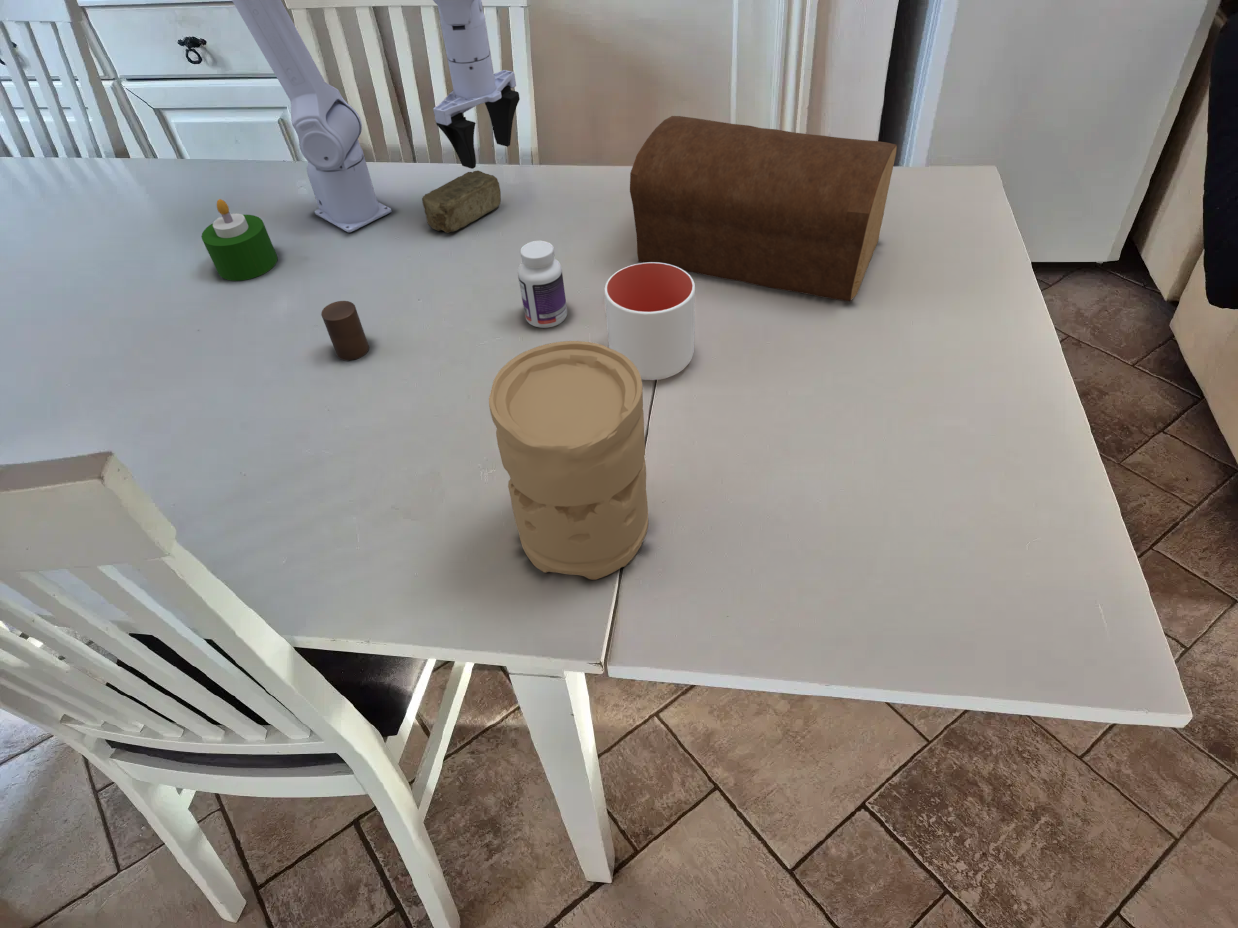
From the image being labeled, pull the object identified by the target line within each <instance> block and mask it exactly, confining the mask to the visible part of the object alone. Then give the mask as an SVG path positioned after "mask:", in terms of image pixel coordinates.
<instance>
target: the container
mask: <svg viewBox="0 0 1238 928" xmlns="http://www.w3.org/2000/svg"><path fill="white" fill-rule="evenodd" d="M642 381H643V380H642V379H641V376H640V374H639V371H638V369H637V368H636V366H635V365H634V364H633V362H632V361H631V360H629V359H628V358H627V357H626V356H625V355H623V354H621V353H619V352H617V351H615V350H613V349H610V348H609V346H606V345H604V344H601V343H598V342H597V343H596V342H591V341H583V340H582V341H581V340H565V341H556V342H551V343H550V342H549V343H545V344H542V345H538V346H535V347H532V348H530V349H528V350H525V351H523V352H522V353H519V354H517V355H516V356H514V357H513V358H511V359H510V360H509V361H508V362H507V363H506V364H504V365H503V366H502V367H501V368H500V370H498V372H497V374H496V375H495V377H494V378H493V381H492V385H491V389H490V393H489V396H488V408H489V412H490V416H491V419H492V422H493V424H494V426H495V428H496V429H495V430H496V431H495V436H496V441H497V447H498V451H499V457H500V461H501V464H502V467H503V469H504V470H505V471H506V472H507V474H508V476H509V478H510V479H509V480H508V482H507V488H508V492H509V496H510V501H511V508H512V512H513V517H514V521H515V526H516V529H517V532H518V534H519V535H518V536H519V541H520V543H521V547H522V549H523V551H524V554H525V555H526V556H527V558H528V559H529V561H530V562H531V564H532V565H533V566H534V567H535V568H536V569H537V570H540V571H541V572H543V573H549V572H550V573H557V574H558V573H559V574H563V575H573V576H580V577H581V576H582V577H584V578H586V579H588V580H595V581H596V580H599V579H602V578H605V577H606V576H609V575H611V574H613V573H615V572H617V571H618V570H619V569H621V568H623V567H626V566H627V565H628V564H629V563H630V561H632V560H633V558H634V557H635V556H636V554H637V553H638V552H639V549H641V547H642V545H643V541H644V540H645V538H646V535H647V533H648V529H649V507H648V495H647V466H646V458H645V456H646V440H645V439H646V438H645V417H644V415H645V414H644V399H643V398H644V395H643V382H642Z"/></svg>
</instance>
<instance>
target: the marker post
mask: <svg viewBox="0 0 1238 928" xmlns="http://www.w3.org/2000/svg"><path fill="white" fill-rule="evenodd" d="M320 316H321V318H322V320H323V323H324V326H325V329H326V331H327V334H328V336H329V339H330V341H331V344H332V347H333V349H334V352H335V354H336V356H337V357H338V359H340V360H343V361H355V360H357V359H360V358H362V357H364V356H365V355H366V354H367V353H368V351H369V350H370V345H369V342H368V340H367V339H368V338H367V336H366V334H365V331H364V328H363V325H362V322H361V319H360V316H359V313H358V310H357V307H356V305H355V304H354V303H353V302H352V301H348V300H338V301H333V302H331V303H329V304H327V305H326V306H325V307H323V308H322V310H321V313H320Z"/></svg>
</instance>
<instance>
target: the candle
mask: <svg viewBox="0 0 1238 928" xmlns="http://www.w3.org/2000/svg"><path fill="white" fill-rule="evenodd" d="M216 209H217V212H218V213H219V214H220V215H221V216H219V217H218V218H216V219H215V220H214V221H212V223H210V224H209V225H208V226H207V227H206V228H205V229H204V230H203V231H202V233H201V240H202V242H203V245H204V246H205V249H206V250H207V253H208V255H209V257H210V259H211V261H212V263H213V265H214V267H215V269H216V272H217V274H218V276H220V277H221V278H222V279H224V280H227V281H234V282H240V281H248V280H251V279H252V280H253V279H255V278H258V277H261V276H262V275H264V274H266V273H268V272H269V271H270V270H272V269H273V268H274V267H275V265H276V264H277V263H278V255H277V253H276V250H275V247H274V245H273V242H272V239H271V237H270V235H269V233H268V231H267V228H266V225H265V222H264V221H263V219H262V218H260V217H259V216H257V215H254V214H242V213H236V212H235V213H230V207H229V205H228V203H227V202H226V201H224V200H223V199H221V198H219V199H218V200H217V201H216Z"/></svg>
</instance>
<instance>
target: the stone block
mask: <svg viewBox="0 0 1238 928" xmlns="http://www.w3.org/2000/svg"><path fill="white" fill-rule="evenodd" d="M501 199H502V198H501V187H500V182H499V180H498V178H497V177H496V176H494V175H493V174H489V173H485V172H483V171H482V170H473V171H467V172H465V173H464V174H462V175H460V176H456V178H454V179H452V180H450V181H448V182H446V183H444V184H443V185H441V186H439V187H437V188H435V189H432V190H431V191H429V192H428V193H425V194H424V195H422V198H421V200H422V206H423V210H424V214H425V219H426V222H427V225H429V226H430V228H431V229H433V230H434V231H435V230H436V231H438V232H439V231H443V232H444V233H446V234H449V233H453V232H457V231H458V230H460V229H464V228H465V227H466V226H467V225H469V224H472V223H473V222H475V221H477V220H479V219H481V218H482V217H484V216H485V215H487V214H488V213H490V212H492V211H494V210H496V209H497V208H498V207H499V206H500V204H501Z"/></svg>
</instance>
